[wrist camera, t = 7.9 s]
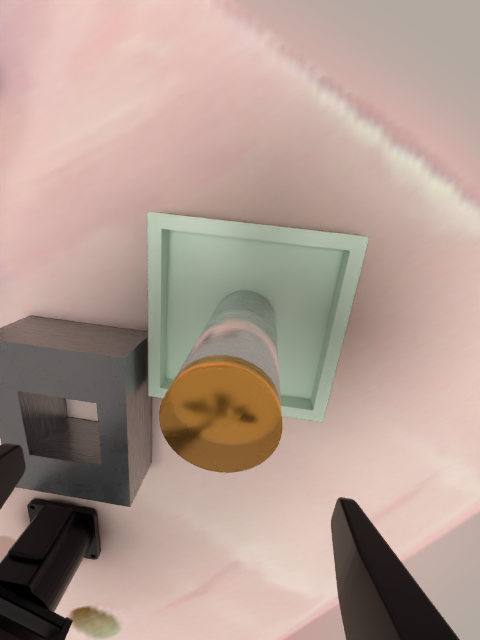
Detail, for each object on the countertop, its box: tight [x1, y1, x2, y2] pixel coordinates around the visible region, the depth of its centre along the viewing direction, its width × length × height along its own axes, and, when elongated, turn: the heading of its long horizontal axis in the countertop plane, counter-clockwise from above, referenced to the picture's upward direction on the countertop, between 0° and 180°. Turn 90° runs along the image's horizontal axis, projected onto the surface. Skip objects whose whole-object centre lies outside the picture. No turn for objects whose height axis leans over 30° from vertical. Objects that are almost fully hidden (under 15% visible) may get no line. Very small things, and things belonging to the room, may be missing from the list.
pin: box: [159, 290, 282, 473], centre depth 14 cm, size 4×4×10 cm
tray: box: [147, 212, 369, 422], centre depth 18 cm, size 12×12×2 cm
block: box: [0, 316, 152, 507], centre depth 21 cm, size 12×9×4 cm
